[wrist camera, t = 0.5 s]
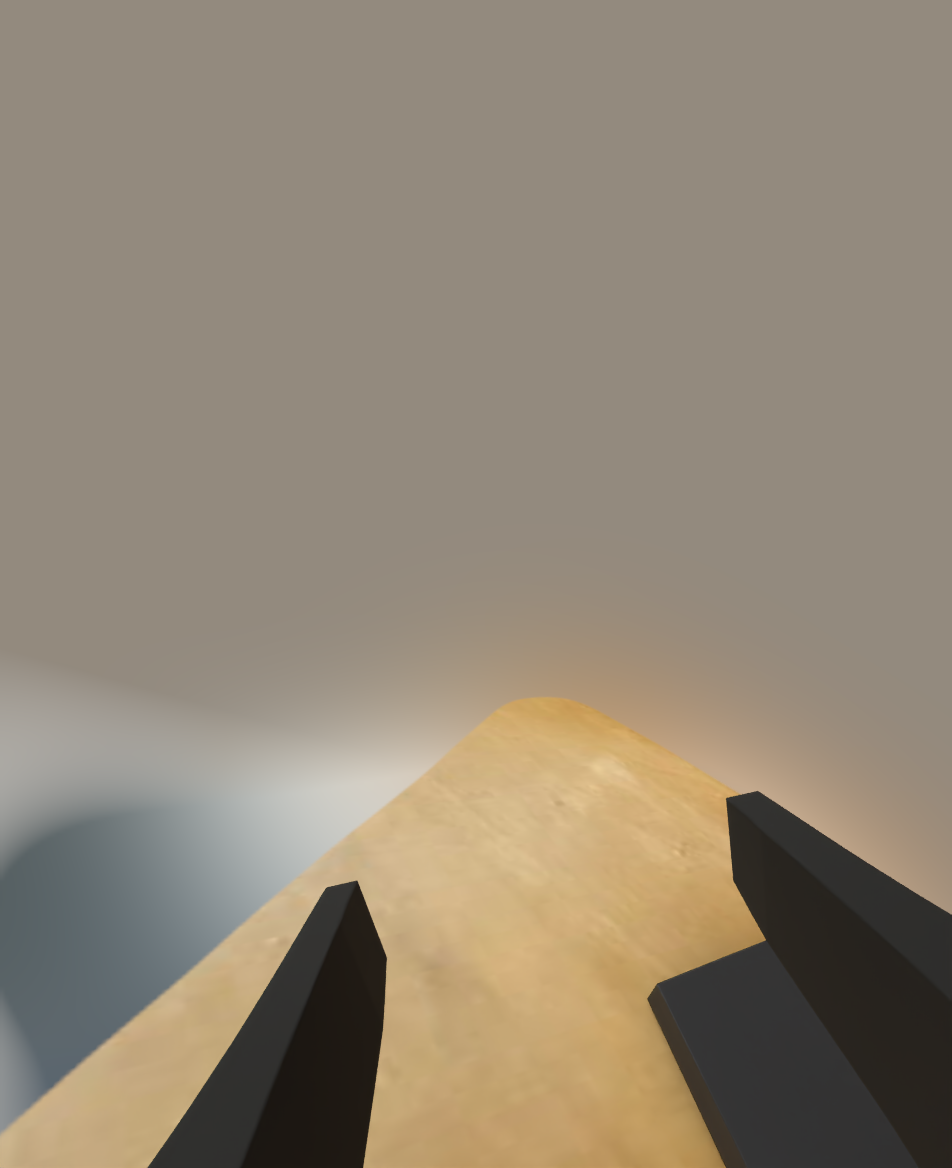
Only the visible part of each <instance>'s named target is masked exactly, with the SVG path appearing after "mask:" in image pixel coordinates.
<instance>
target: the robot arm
mask: <svg viewBox="0 0 952 1168" xmlns="http://www.w3.org/2000/svg"><path fill="white" fill-rule="evenodd" d="M726 802H727V813H728V825H729V836H730V847H731V859H732V870H733V881H734V883H735V884H736V886H737V888H738V890H739V892H740V894H741V895H742V897H743V899H744V901H745V903H746V905H747V906H748V908H749V910H750V912H751V914H752V916H753V917H754V919H755V921H756V923H757V924H758V926H759V928H760V930H761V931H762V933H763V935H764V937H765V938H766V940H767V942H768V944H769V945H770V947H771V948H772V950H773V951H774V953H775V954H776V956H777V957H778V959H779V960H780V962H781V963H782V965H783V966H784V968H785V969H786V971H787V972H788V973H789V975H790V976H791V978H792V979H793V981H794V982H795V984H796V985H797V987H798V988H799V990H800V991H801V993H802V994H803V996H804V997H805V999H806V1000H807V1002H808V1003H809V1004H810V1006H811V1007H812V1009H813V1010H814V1012H815V1013H816V1015H817V1016H818V1018H819V1019H820V1021H821V1022H822V1023H823V1025H824V1026H825V1028H826V1029H827V1031H828V1032H829V1034H830V1035H831V1037H832V1038H833V1040H834V1041H835V1042H836V1044H837V1045H838V1047H839V1048H840V1050H841V1051H842V1053H843V1054H844V1056H845V1057H846V1059H847V1060H848V1061H849V1063H850V1064H851V1066H852V1067H853V1069H854V1070H855V1072H856V1073H857V1075H858V1076H859V1078H860V1079H861V1081H862V1082H863V1083H864V1085H865V1086H866V1088H867V1089H868V1091H869V1092H870V1094H871V1095H872V1097H873V1098H874V1100H875V1101H876V1102H877V1104H878V1105H879V1107H880V1108H881V1110H882V1111H883V1113H884V1114H885V1116H886V1117H887V1119H888V1121H889V1122H890V1124H891V1125H892V1127H893V1128H894V1130H895V1131H896V1133H897V1134H898V1136H899V1138H900V1139H901V1141H902V1142H903V1144H904V1145H905V1147H906V1148H907V1150H908V1152H909V1153H910V1155H911V1156H912V1158H913V1160H914V1161H915V1163H916V1164H917V1166H918V1168H952V915H951V914H949V913H948V912H946V911H944V910H943V909H941V908H939V907H938V906H936V905H934V904H933V903H931V902H930V901H928V900H926V899H924V898H923V897H921V896H919V895H918V894H916V893H915V892H913V891H911V890H910V889H908V888H907V887H905V886H904V885H902V884H900V883H899V882H897V881H895V880H894V879H892V878H891V877H889V876H887V875H886V874H884V873H883V872H881V871H879V870H878V869H876V868H875V867H873V866H872V865H870V864H868V863H867V862H865V861H864V860H862V859H860V858H859V857H857V856H856V855H854V854H853V853H851V852H850V851H848V850H847V849H845V848H843V847H842V846H840V845H839V844H837V843H836V842H834V841H833V840H831V839H830V838H828V837H827V836H825V835H824V834H822V833H821V832H819V831H818V830H816V829H815V828H813V827H811V826H810V825H809V824H807V823H806V822H804V821H802V820H801V819H800V818H798V817H796V816H795V815H794V814H792V813H790V812H789V811H787V810H786V809H784V808H783V807H781V806H780V805H778V804H777V803H775V802H774V801H772V800H771V799H769V798H768V797H766V796H765V795H763V794H762V793H760V792H758V791H756V792H751V793H747V794H742V795H738V796H733V797H729V798H726ZM386 962H387V957H386V954H385V952H384V949H383V946H382V944H381V941H380V939H379V936H378V933H377V931H376V928H375V926H374V923H373V920H372V918H371V915H370V912H369V910H368V907H367V905H366V902H365V899H364V897H363V894H362V892H361V889H360V886H359V884H358V881H354V882H349V883H345V884H340V885H336V886H331V887H327V888H326V889H325V891H324V892H323V894H322V895H321V897H320V899H319V900H318V902H317V904H316V905H315V907H314V909H313V910H312V912H311V914H310V915H309V917H308V919H307V920H306V922H305V924H304V926H303V927H302V929H301V931H300V932H299V934H298V936H297V937H296V939H295V941H294V943H293V944H292V946H291V948H290V949H289V951H288V953H287V954H286V956H285V958H284V959H283V961H282V963H281V964H280V966H279V968H278V969H277V971H276V973H275V974H274V976H273V978H272V979H271V981H270V983H269V984H268V986H267V987H266V989H265V991H264V992H263V994H262V996H261V997H260V999H259V1000H258V1002H257V1004H256V1005H255V1007H254V1009H253V1010H252V1012H251V1013H250V1015H249V1017H248V1018H247V1020H246V1021H245V1023H244V1025H243V1026H242V1028H241V1030H240V1031H239V1033H238V1034H237V1036H236V1037H235V1039H234V1041H233V1042H232V1044H231V1045H230V1047H229V1048H228V1050H227V1051H226V1053H225V1054H224V1056H223V1057H222V1059H221V1060H220V1062H219V1063H218V1065H217V1066H216V1068H215V1070H214V1071H213V1073H212V1074H211V1076H210V1077H209V1079H208V1080H207V1082H206V1083H205V1085H204V1086H203V1088H202V1089H201V1091H200V1092H199V1094H198V1095H197V1097H196V1098H195V1100H194V1101H193V1103H192V1104H191V1106H190V1107H189V1109H188V1110H187V1112H186V1113H185V1115H184V1116H183V1118H182V1119H181V1121H180V1122H179V1124H178V1125H177V1126H176V1128H175V1129H174V1131H173V1132H172V1134H171V1135H170V1137H169V1138H168V1139H167V1141H166V1142H165V1144H164V1145H163V1147H162V1148H161V1149H160V1151H159V1152H158V1154H157V1155H156V1157H155V1158H154V1159H153V1161H152V1162H151V1164H150V1165H149V1166H148V1168H363V1164H364V1157H365V1151H366V1144H367V1137H368V1130H369V1123H370V1116H371V1110H372V1103H373V1096H374V1089H375V1082H376V1075H377V1068H378V1061H379V1054H380V1047H381V1039H382V1032H383V1020H384V1004H385V985H386Z"/></svg>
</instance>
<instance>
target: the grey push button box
mask: <svg viewBox="0 0 952 1168" xmlns="http://www.w3.org/2000/svg"><path fill="white" fill-rule="evenodd" d="M648 1001H649V1003H650V1006H651V1008H652V1010H653V1012H654V1014H655V1016H656V1018H657V1020H658V1023H659V1025H660V1027H661V1029H662V1031H663V1033H664V1035H665V1038H666V1040H667V1042H668V1044H669V1046H670V1048H671V1050H672V1053H673V1055H674V1057H675V1059H676V1061H677V1063H678V1065H679V1067H680V1070H681V1072H682V1074H683V1076H684V1078H685V1080H686V1082H687V1085H688V1087H689V1089H690V1091H691V1093H692V1095H693V1097H694V1100H695V1102H696V1104H697V1106H698V1108H699V1110H700V1112H701V1114H702V1117H703V1119H704V1121H705V1123H706V1125H707V1127H708V1129H709V1132H710V1134H711V1136H712V1138H713V1140H714V1142H715V1144H716V1147H717V1149H718V1151H719V1153H720V1155H721V1157H722V1159H723V1161H724V1164H725V1166H726V1168H918V1166H917V1164H916V1163H915V1161H914V1160H913V1158H912V1156H911V1155H910V1153H909V1152H908V1150H907V1148H906V1147H905V1145H904V1144H903V1142H902V1141H901V1139H900V1138H899V1136H898V1134H897V1133H896V1131H895V1130H894V1128H893V1127H892V1125H891V1124H890V1122H889V1121H888V1119H887V1117H886V1116H885V1114H884V1113H883V1111H882V1110H881V1108H880V1107H879V1105H878V1104H877V1102H876V1101H875V1100H874V1098H873V1097H872V1095H871V1094H870V1092H869V1091H868V1089H867V1088H866V1086H865V1085H864V1083H863V1082H862V1081H861V1079H860V1078H859V1076H858V1075H857V1073H856V1072H855V1070H854V1069H853V1067H852V1066H851V1064H850V1063H849V1061H848V1060H847V1059H846V1057H845V1056H844V1054H843V1053H842V1051H841V1050H840V1048H839V1047H838V1045H837V1044H836V1042H835V1041H834V1040H833V1038H832V1037H831V1035H830V1034H829V1032H828V1031H827V1029H826V1028H825V1026H824V1025H823V1023H822V1022H821V1021H820V1019H819V1018H818V1016H817V1015H816V1013H815V1012H814V1010H813V1009H812V1007H811V1006H810V1004H809V1003H808V1002H807V1000H806V999H805V997H804V996H803V994H802V993H801V991H800V990H799V988H798V987H797V985H796V984H795V982H794V981H793V979H792V978H791V976H790V975H789V973H788V972H787V971H786V969H785V968H784V966H783V965H782V963H781V962H780V960H779V959H778V957H777V956H776V954H775V953H774V951H773V950H772V948H771V947H770V945H769V944H768V942H767V940H766V941H763V942H761V943H758V944H756V945H753V946H751V947H748V948H746V949H743V950H741V951H738V952H736V953H733V954H731V955H728V956H726V957H723V958H721V959H718V960H715V961H713V962H710V963H708V964H705V965H703V966H700V967H698V968H695V969H693V970H690V971H688V972H685V973H683V974H680V975H678V976H675V977H673V978H670V979H668V980H665V981H663V982H660V983H658V984H657V985H656V986H655V988H654V989H653V991H652V992H651V994H650V996H649V997H648Z"/></svg>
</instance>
